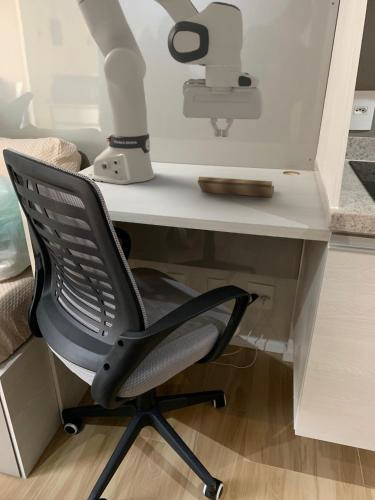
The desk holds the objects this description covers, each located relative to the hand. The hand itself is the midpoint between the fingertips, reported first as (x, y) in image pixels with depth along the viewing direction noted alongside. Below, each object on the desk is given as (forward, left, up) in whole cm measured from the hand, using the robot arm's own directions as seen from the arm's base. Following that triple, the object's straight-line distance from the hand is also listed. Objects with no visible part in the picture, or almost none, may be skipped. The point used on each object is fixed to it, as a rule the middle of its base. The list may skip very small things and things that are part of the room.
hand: (221, 136), depth 103 cm
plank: (+4, +1, -14) cm, 15 cm away
